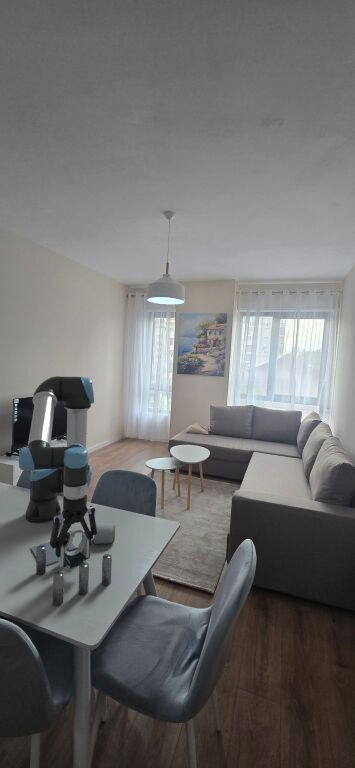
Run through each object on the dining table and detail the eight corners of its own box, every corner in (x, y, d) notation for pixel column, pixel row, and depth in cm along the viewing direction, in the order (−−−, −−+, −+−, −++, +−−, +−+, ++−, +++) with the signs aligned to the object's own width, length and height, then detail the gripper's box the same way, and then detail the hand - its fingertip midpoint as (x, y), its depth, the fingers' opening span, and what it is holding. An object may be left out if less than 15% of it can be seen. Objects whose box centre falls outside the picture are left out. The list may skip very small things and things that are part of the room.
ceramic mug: (115, 546, 133) (115, 527, 132) (93, 548, 131) (94, 528, 131) (114, 533, 143) (115, 515, 143) (94, 534, 141) (95, 516, 141)
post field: (35, 571, 115) (35, 546, 115) (87, 553, 127) (88, 531, 126) (54, 607, 100) (55, 579, 99) (112, 583, 112) (113, 557, 111)
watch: (58, 561, 113) (59, 530, 112) (81, 554, 118) (82, 524, 117) (64, 571, 109) (65, 538, 108) (88, 562, 114) (89, 531, 112)
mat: (30, 548, 129) (30, 547, 129) (66, 537, 137) (66, 536, 137) (41, 567, 118) (41, 566, 118) (80, 554, 126) (80, 553, 126)
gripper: (46, 507, 102) (45, 578, 104) (109, 492, 115) (106, 555, 117) (39, 498, 107) (38, 565, 110) (99, 484, 120) (97, 544, 123)
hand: (73, 559), depth 113 cm, fingers closed on watch, 8 cm apart
